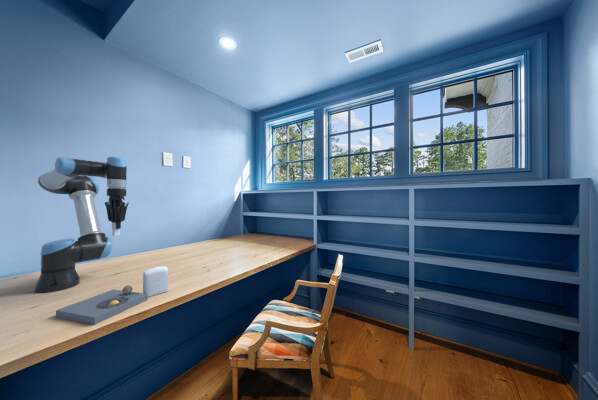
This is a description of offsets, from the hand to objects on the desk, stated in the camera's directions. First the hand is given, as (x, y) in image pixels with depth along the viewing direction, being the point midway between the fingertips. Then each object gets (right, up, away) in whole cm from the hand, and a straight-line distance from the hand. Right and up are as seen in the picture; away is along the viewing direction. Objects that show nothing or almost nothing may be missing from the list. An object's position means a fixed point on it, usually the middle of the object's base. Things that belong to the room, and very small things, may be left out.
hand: (116, 235), depth 108 cm
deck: (+12, -26, -20) cm, 35 cm away
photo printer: (+24, -27, -6) cm, 37 cm away
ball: (+17, -25, -21) cm, 37 cm away
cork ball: (+15, -22, -12) cm, 30 cm away
